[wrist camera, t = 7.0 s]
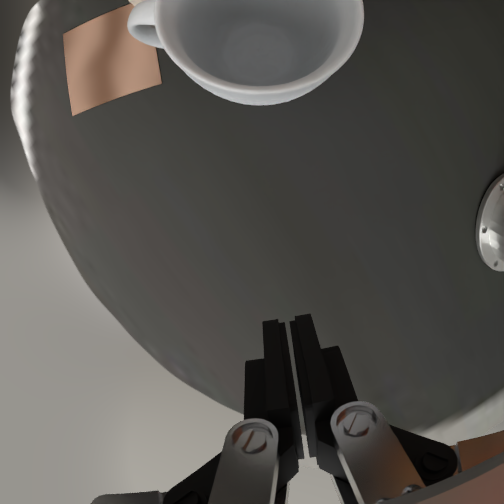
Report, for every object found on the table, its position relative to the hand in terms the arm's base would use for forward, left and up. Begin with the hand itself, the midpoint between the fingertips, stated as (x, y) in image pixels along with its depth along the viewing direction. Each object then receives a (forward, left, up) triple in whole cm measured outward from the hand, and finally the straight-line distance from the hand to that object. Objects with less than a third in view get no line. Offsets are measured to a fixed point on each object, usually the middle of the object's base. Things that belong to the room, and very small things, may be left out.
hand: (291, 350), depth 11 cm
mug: (0, -15, -20) cm, 25 cm away
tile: (+13, -19, -20) cm, 30 cm away
